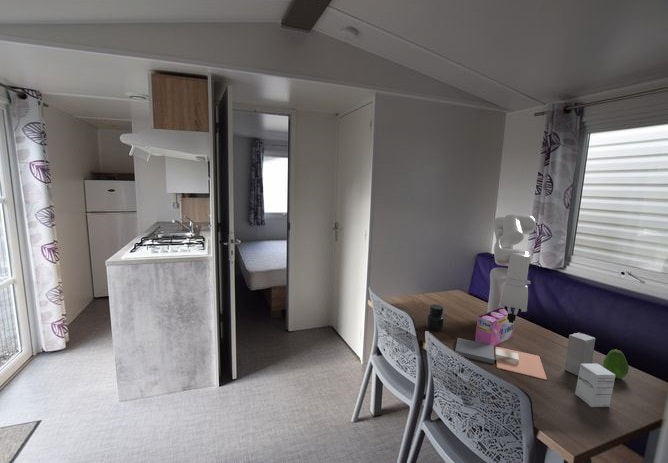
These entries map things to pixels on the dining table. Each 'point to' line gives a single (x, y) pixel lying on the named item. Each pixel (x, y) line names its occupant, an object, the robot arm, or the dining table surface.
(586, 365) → the supplement box
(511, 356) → the tile
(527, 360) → the mat
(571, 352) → the skincare box
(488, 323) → the gum box
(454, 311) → the dining table surface
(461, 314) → the dining table surface
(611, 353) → the avocado
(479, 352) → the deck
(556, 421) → the dining table surface
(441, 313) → the ink bottle
